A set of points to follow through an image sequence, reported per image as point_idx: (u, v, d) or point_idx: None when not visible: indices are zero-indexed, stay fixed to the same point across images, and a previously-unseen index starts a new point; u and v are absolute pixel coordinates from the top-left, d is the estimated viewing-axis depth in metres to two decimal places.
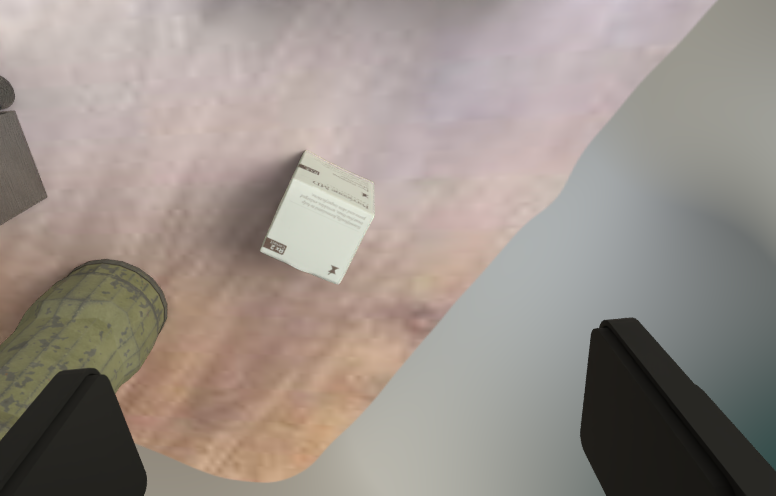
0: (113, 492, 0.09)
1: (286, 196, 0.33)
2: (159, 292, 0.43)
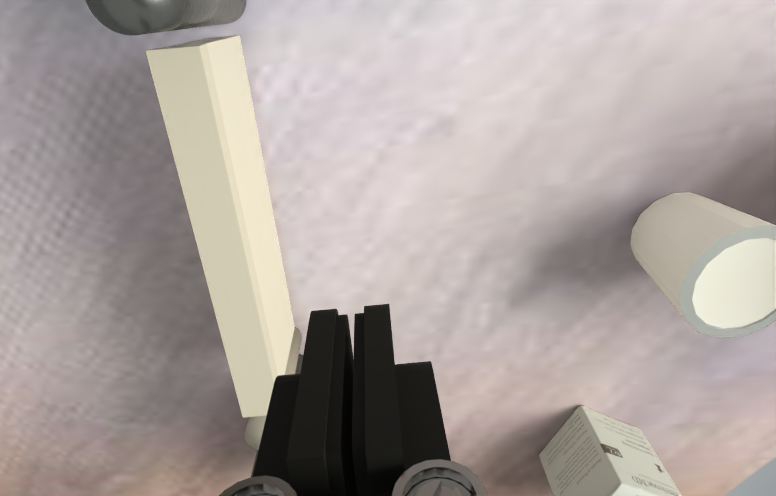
0: None
1: None
2: None
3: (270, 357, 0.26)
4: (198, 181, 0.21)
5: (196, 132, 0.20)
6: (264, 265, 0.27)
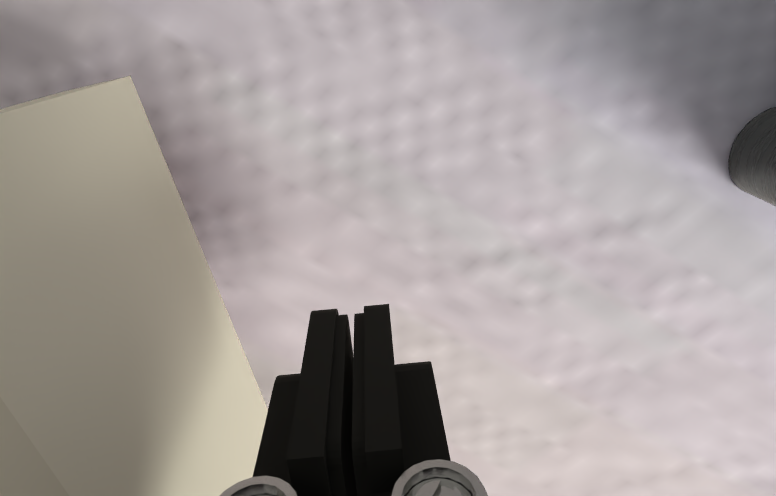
0: None
1: None
2: None
3: None
4: None
5: None
6: None
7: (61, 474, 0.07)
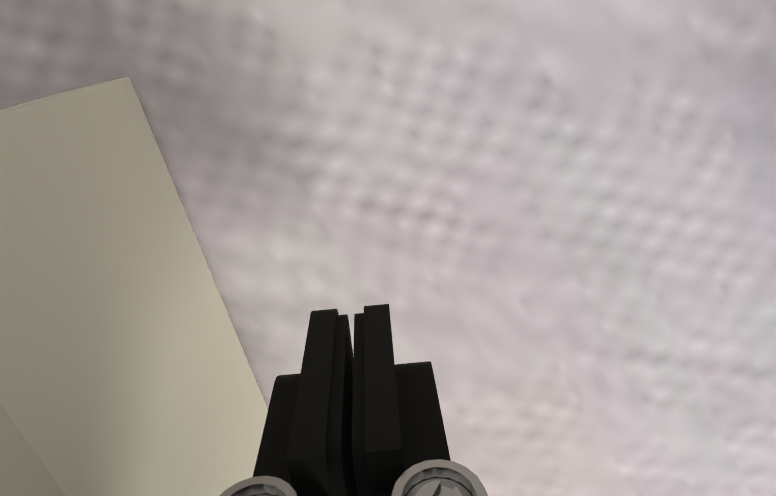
0: None
1: None
2: None
3: None
4: None
5: None
6: None
7: (59, 476, 0.07)
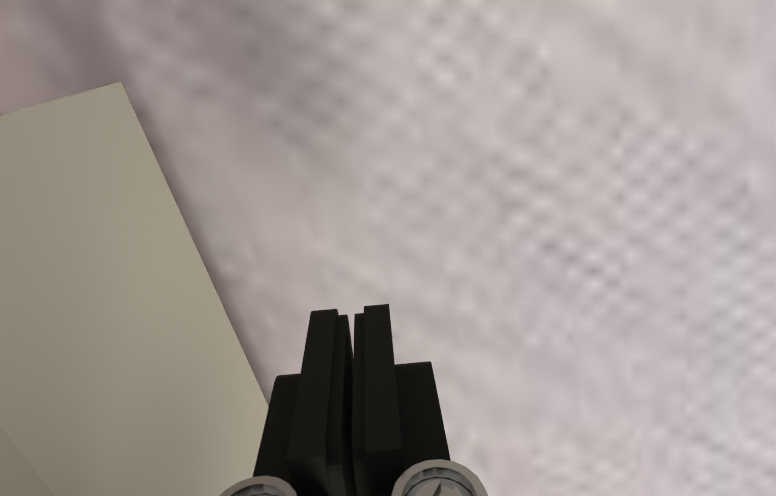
0: None
1: None
2: None
3: None
4: None
5: None
6: None
7: (54, 483, 0.07)
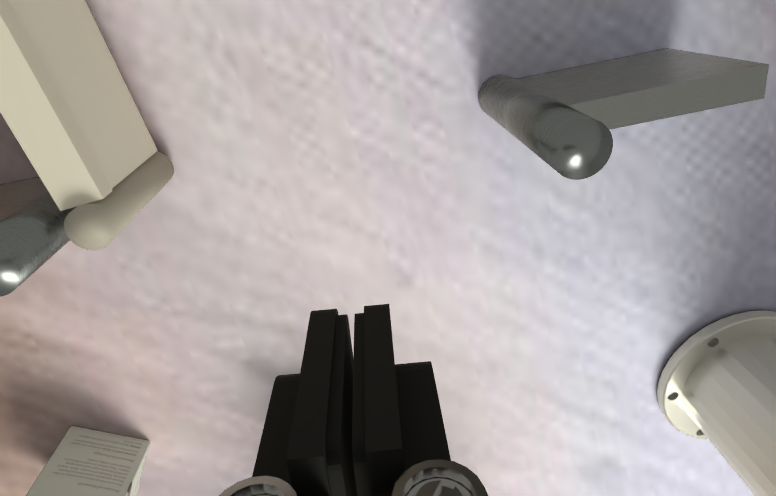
0: None
1: None
2: None
3: (66, 121, 0.21)
4: None
5: None
6: (54, 29, 0.23)
7: None
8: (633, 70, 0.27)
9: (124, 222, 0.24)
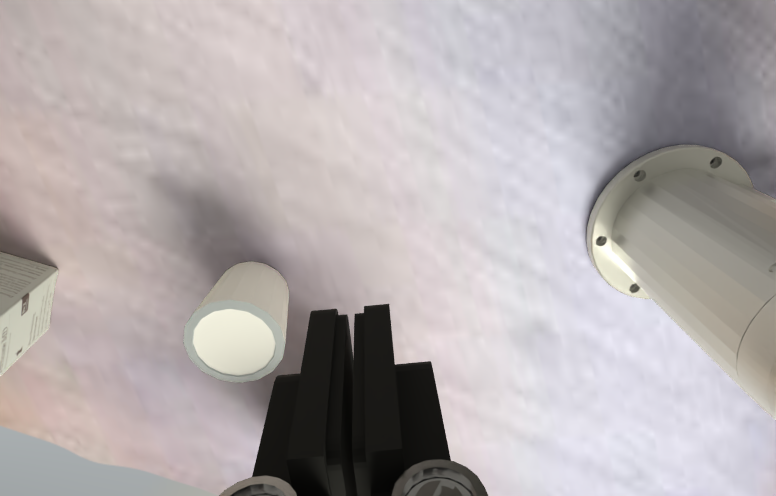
0: None
1: None
2: None
3: None
4: None
5: None
6: None
7: None
8: None
9: None
